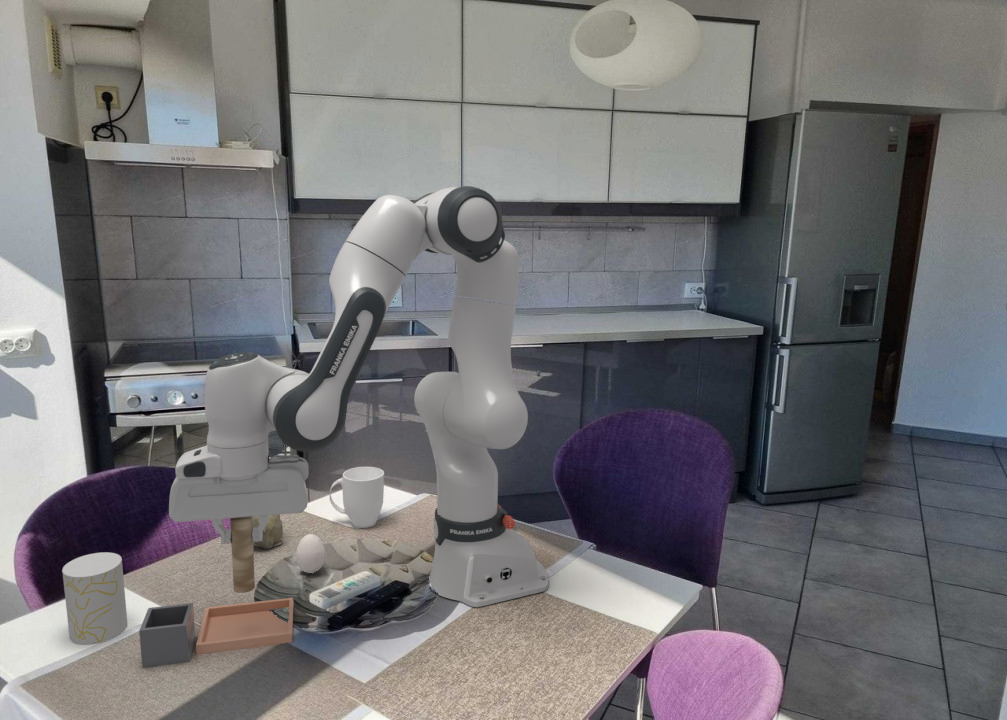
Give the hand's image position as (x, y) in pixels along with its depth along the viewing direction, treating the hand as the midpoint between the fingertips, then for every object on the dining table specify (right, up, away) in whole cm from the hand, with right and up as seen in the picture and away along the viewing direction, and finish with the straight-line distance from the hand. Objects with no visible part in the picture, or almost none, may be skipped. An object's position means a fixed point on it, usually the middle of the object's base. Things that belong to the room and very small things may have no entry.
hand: (242, 541), depth 113 cm
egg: (+5, -12, +23) cm, 26 cm away
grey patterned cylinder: (-24, -16, +2) cm, 28 cm away
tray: (0, -16, +3) cm, 16 cm away
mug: (+9, -8, +44) cm, 46 cm away
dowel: (0, -8, +2) cm, 8 cm away
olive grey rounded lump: (-8, -9, +35) cm, 37 cm away
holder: (-10, -17, -3) cm, 20 cm away
